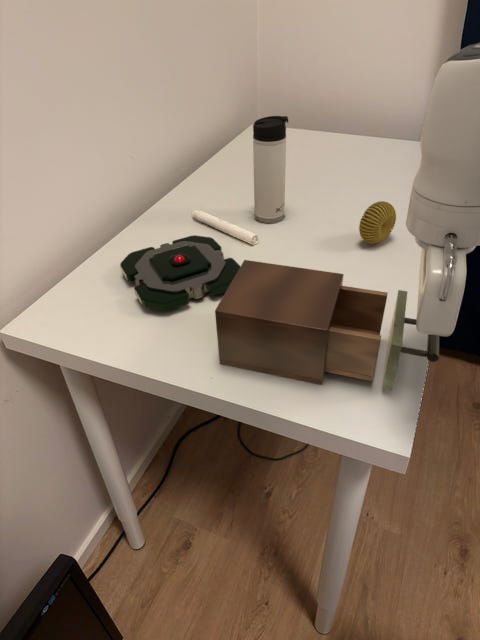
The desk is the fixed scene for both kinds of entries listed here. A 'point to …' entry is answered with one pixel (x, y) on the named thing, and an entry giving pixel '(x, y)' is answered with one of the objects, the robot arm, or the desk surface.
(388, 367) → the drawer
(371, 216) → the sculpture
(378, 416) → the desk surface
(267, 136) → the travel mug
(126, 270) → the flat green button pad
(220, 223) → the white rod
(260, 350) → the cabinet
